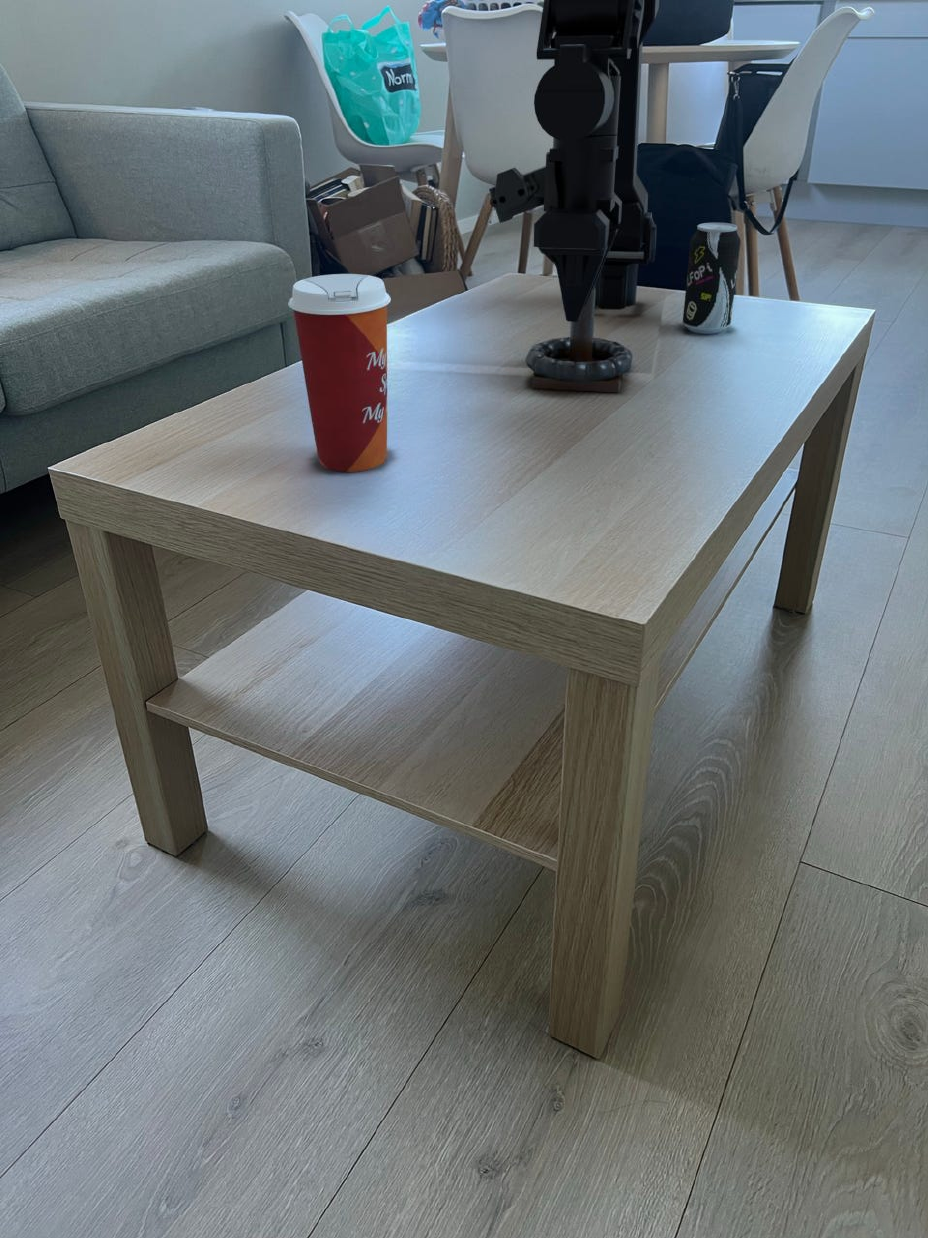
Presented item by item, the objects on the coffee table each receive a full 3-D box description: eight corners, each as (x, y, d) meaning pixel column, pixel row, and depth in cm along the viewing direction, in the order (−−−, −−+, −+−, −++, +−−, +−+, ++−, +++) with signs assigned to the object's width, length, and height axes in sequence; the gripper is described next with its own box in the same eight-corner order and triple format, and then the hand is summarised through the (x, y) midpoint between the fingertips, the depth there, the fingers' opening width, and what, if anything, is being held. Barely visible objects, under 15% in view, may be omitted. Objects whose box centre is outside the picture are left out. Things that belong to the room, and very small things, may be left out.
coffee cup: (406, 472, 82) (397, 291, 74) (309, 481, 80) (289, 298, 73) (392, 437, 89) (382, 268, 81) (302, 445, 87) (283, 274, 80)
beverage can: (730, 336, 115) (743, 230, 108) (681, 334, 116) (692, 229, 110) (729, 324, 120) (742, 221, 113) (682, 322, 121) (692, 220, 114)
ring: (535, 350, 107) (535, 332, 106) (634, 355, 105) (636, 336, 104) (518, 381, 98) (518, 362, 97) (626, 387, 96) (628, 367, 95)
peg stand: (544, 362, 107) (546, 277, 103) (625, 366, 106) (631, 280, 101) (531, 388, 100) (533, 297, 95) (618, 392, 98) (624, 301, 93)
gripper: (514, 129, 96) (512, 291, 103) (476, 140, 80) (476, 331, 88) (627, 129, 93) (616, 295, 101) (610, 141, 78) (598, 336, 85)
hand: (576, 312), depth 94 cm, fingers open, 7 cm apart
